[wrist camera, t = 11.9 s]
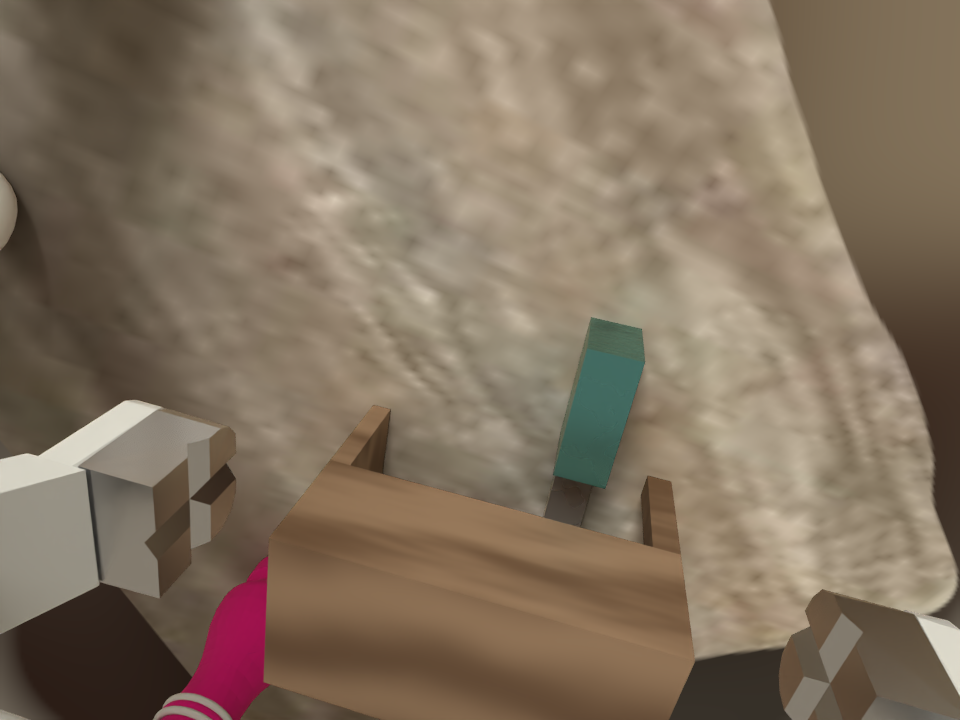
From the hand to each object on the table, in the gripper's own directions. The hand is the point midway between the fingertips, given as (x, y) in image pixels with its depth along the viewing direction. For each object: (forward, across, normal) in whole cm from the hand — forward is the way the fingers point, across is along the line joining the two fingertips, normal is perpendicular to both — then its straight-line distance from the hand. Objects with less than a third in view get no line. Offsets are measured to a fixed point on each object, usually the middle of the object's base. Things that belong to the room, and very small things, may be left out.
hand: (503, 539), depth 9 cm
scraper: (+28, -3, +17) cm, 33 cm away
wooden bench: (+28, +1, +21) cm, 35 cm away
